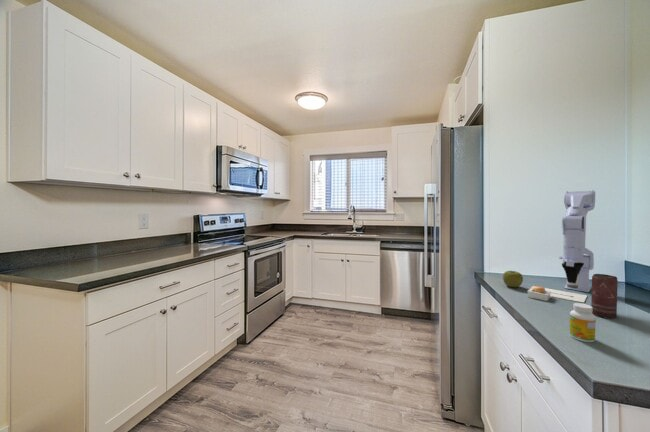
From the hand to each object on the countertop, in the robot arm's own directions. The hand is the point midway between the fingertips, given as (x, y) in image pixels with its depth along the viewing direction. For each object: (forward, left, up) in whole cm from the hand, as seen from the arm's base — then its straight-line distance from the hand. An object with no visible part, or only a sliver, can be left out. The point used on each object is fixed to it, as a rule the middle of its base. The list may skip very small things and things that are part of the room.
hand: (572, 281), depth 103 cm
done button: (+1, -10, -7) cm, 12 cm away
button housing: (+1, -10, -9) cm, 13 cm away
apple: (-7, -21, -9) cm, 24 cm away
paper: (-8, -6, -9) cm, 13 cm away
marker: (0, 0, -2) cm, 2 cm away
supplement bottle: (+33, +6, -9) cm, 35 cm away
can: (+7, +9, -9) cm, 14 cm away
